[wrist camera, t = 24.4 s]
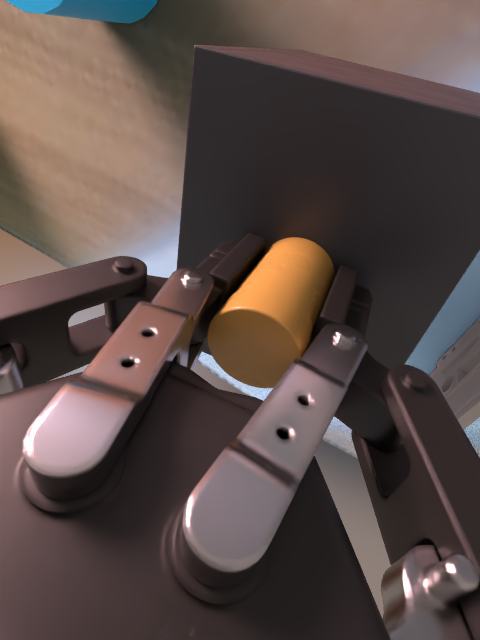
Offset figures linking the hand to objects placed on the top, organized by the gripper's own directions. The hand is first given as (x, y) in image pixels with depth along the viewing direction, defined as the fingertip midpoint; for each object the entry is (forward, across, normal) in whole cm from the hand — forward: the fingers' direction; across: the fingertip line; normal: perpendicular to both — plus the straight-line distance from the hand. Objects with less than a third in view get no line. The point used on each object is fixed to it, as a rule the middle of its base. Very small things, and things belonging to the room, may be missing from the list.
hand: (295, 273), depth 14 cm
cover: (+13, 0, 0) cm, 13 cm away
